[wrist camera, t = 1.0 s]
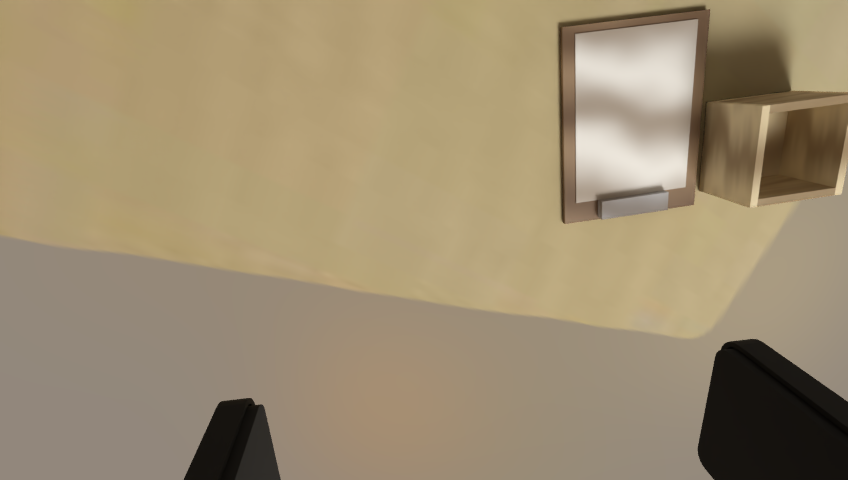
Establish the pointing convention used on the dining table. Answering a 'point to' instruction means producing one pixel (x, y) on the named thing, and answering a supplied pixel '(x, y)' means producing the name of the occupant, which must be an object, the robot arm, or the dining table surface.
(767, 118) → the wooden box
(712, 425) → the robot arm
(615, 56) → the clipboard
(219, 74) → the dining table surface
